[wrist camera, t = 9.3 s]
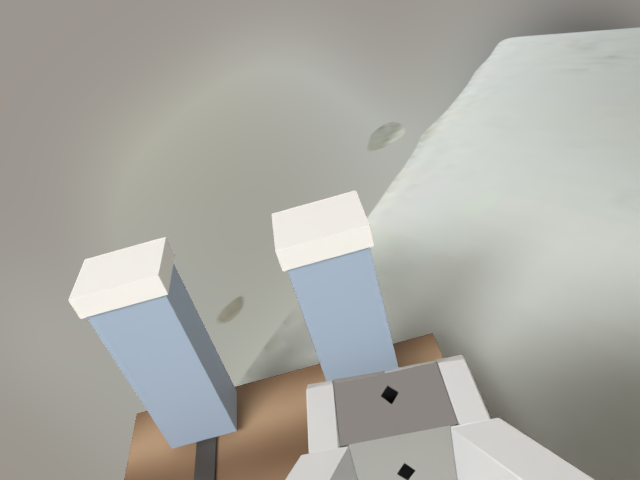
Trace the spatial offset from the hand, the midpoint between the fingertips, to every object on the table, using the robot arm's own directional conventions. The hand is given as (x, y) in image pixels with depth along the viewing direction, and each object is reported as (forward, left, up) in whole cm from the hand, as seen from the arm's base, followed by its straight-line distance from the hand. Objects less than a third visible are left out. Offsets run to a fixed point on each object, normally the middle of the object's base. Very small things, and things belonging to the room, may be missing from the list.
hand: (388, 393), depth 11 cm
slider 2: (+8, -13, -17) cm, 23 cm away
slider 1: (+17, -9, -17) cm, 26 cm away
